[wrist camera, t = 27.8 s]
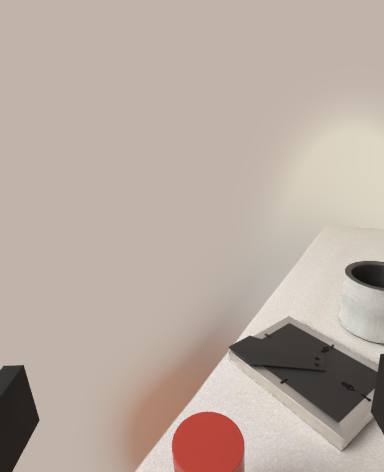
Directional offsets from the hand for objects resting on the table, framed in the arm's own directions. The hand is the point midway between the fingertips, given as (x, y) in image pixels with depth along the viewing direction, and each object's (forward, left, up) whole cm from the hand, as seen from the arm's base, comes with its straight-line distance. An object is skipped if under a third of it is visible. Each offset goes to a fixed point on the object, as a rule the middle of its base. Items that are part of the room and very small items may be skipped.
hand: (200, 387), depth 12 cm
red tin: (+10, +5, -30) cm, 32 cm away
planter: (+54, -9, -30) cm, 63 cm away
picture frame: (+36, 0, -30) cm, 47 cm away
